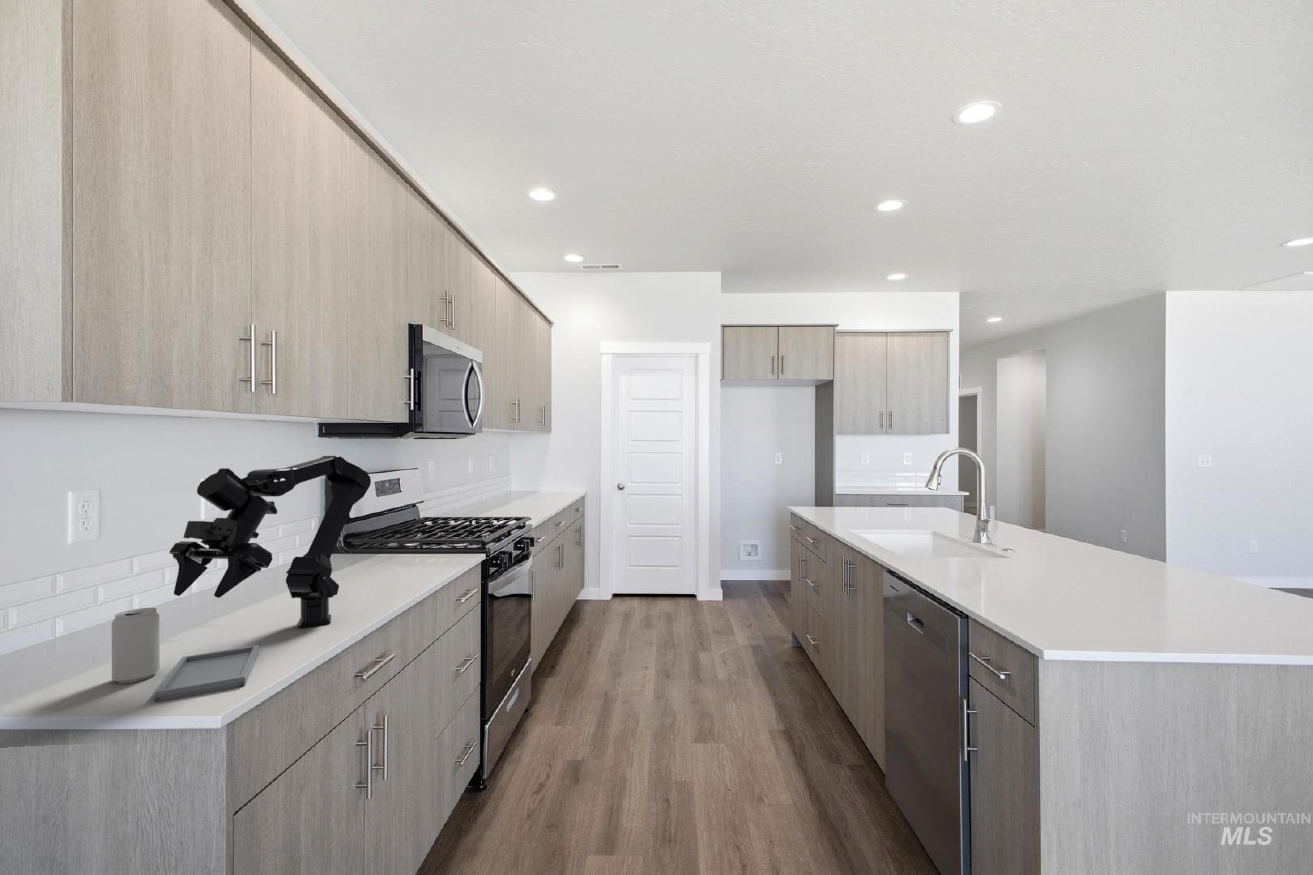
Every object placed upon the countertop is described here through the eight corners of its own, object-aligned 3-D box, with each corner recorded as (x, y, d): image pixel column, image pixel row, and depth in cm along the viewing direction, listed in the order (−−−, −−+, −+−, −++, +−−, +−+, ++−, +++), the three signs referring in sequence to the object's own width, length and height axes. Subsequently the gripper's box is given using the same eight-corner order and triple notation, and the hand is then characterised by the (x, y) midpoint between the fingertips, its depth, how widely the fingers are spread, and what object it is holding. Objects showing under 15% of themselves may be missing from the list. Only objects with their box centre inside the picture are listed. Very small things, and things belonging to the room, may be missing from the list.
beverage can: (102, 687, 98) (102, 618, 98) (126, 672, 105) (126, 608, 105) (146, 682, 100) (146, 614, 100) (167, 668, 106) (166, 605, 106)
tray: (182, 665, 108) (182, 656, 108) (258, 652, 114) (258, 645, 114) (154, 702, 92) (154, 692, 92) (244, 685, 98) (244, 676, 98)
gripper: (172, 501, 111) (117, 576, 101) (251, 502, 107) (203, 579, 97) (216, 529, 119) (169, 600, 110) (291, 530, 115) (249, 604, 106)
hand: (196, 596), depth 106 cm, fingers open, 9 cm apart
